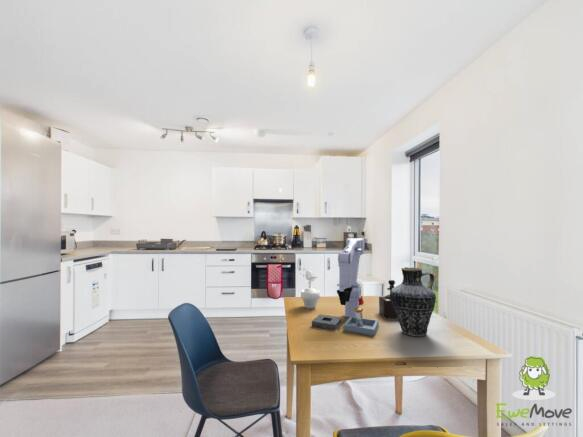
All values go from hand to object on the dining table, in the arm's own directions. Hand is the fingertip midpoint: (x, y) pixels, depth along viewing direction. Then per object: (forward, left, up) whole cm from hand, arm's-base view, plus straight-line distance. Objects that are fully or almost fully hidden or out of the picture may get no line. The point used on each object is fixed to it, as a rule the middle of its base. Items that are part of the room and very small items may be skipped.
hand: (344, 303), depth 147 cm
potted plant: (-20, -26, -11) cm, 34 cm away
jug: (-2, +32, -11) cm, 34 cm away
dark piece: (-27, +19, -11) cm, 34 cm away
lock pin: (+3, +8, -10) cm, 13 cm away
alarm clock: (-43, -5, -11) cm, 45 cm away
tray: (+3, +9, -10) cm, 14 cm away
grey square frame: (+4, -8, -10) cm, 14 cm away
